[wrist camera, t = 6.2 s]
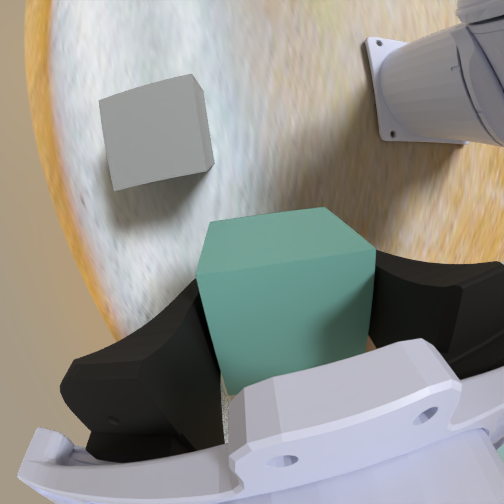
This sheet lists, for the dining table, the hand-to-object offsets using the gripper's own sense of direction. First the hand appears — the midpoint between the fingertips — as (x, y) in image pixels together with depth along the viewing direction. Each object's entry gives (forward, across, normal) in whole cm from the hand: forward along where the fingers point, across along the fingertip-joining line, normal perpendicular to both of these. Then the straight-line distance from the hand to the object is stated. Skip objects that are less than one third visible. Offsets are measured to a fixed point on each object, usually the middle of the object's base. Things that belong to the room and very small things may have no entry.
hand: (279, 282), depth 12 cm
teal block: (+2, 0, 0) cm, 2 cm away
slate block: (+8, +4, -7) cm, 12 cm away
